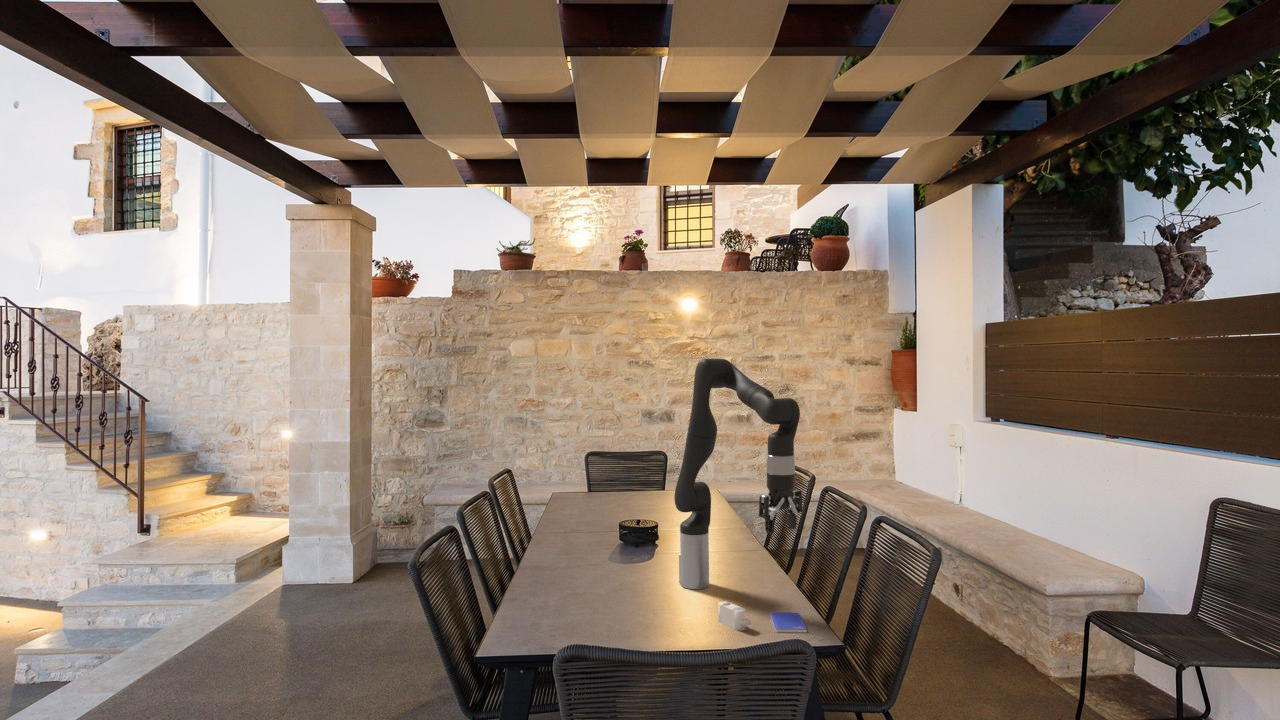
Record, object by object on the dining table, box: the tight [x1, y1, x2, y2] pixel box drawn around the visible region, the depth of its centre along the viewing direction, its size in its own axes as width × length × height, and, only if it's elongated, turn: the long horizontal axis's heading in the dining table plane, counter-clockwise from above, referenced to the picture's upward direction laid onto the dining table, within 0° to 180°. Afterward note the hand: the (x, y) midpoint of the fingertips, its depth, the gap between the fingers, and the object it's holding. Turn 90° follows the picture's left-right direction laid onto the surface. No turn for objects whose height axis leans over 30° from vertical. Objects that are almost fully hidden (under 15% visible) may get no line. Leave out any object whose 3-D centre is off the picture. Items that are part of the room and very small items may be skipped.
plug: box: [717, 601, 752, 632], centre depth 189 cm, size 11×3×5 cm, turn 34°
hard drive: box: [770, 611, 808, 633], centre depth 191 cm, size 2×8×12 cm
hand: (781, 530), depth 189 cm, fingers open, 8 cm apart
